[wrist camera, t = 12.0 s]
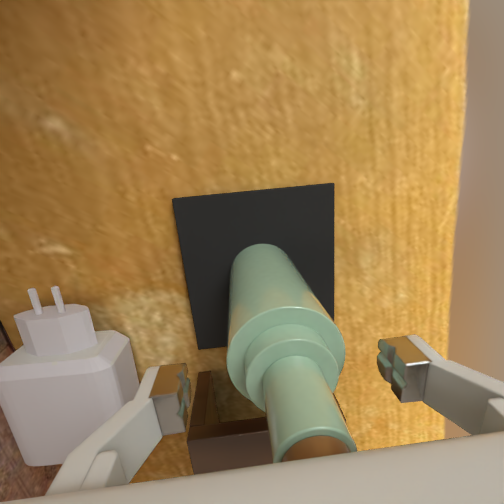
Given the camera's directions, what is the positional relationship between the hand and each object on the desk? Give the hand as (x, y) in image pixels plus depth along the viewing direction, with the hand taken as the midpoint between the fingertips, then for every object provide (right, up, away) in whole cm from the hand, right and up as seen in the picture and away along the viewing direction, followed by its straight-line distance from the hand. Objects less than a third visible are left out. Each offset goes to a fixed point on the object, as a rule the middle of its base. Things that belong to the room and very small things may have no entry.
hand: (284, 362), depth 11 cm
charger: (-17, -4, +13) cm, 22 cm away
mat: (-1, +3, +12) cm, 13 cm away
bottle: (-1, +3, +12) cm, 12 cm away
